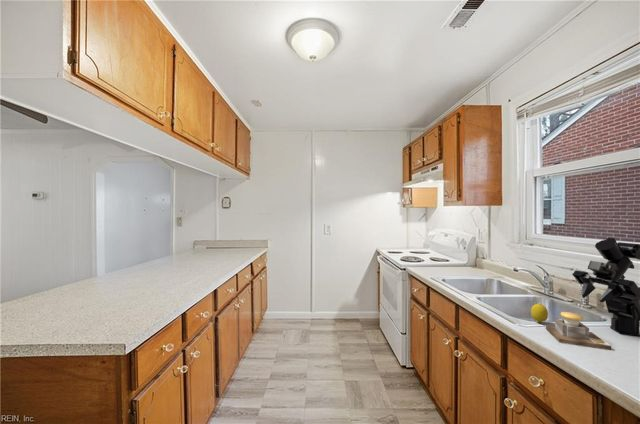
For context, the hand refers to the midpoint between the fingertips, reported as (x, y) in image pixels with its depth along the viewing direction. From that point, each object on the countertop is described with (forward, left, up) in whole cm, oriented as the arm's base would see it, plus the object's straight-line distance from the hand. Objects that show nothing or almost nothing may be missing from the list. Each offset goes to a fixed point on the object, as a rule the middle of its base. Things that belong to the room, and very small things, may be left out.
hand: (591, 299), depth 105 cm
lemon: (+14, -7, -14) cm, 21 cm away
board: (+7, +6, -14) cm, 16 cm away
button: (+8, +5, -10) cm, 14 cm away
